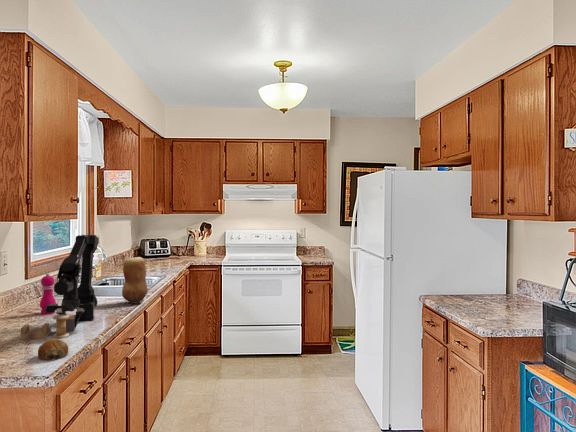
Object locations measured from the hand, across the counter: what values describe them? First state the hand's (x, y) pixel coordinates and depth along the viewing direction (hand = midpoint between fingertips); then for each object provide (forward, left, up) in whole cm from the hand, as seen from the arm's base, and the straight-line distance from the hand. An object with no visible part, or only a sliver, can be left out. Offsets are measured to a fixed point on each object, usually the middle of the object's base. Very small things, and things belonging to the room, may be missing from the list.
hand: (70, 327), depth 219 cm
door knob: (+2, +11, -1) cm, 11 cm away
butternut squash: (-25, -55, -1) cm, 60 cm away
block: (0, 0, -1) cm, 1 cm away
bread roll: (0, +39, -1) cm, 39 cm away
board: (+12, +7, -1) cm, 14 cm away
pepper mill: (+16, -38, -1) cm, 41 cm away
